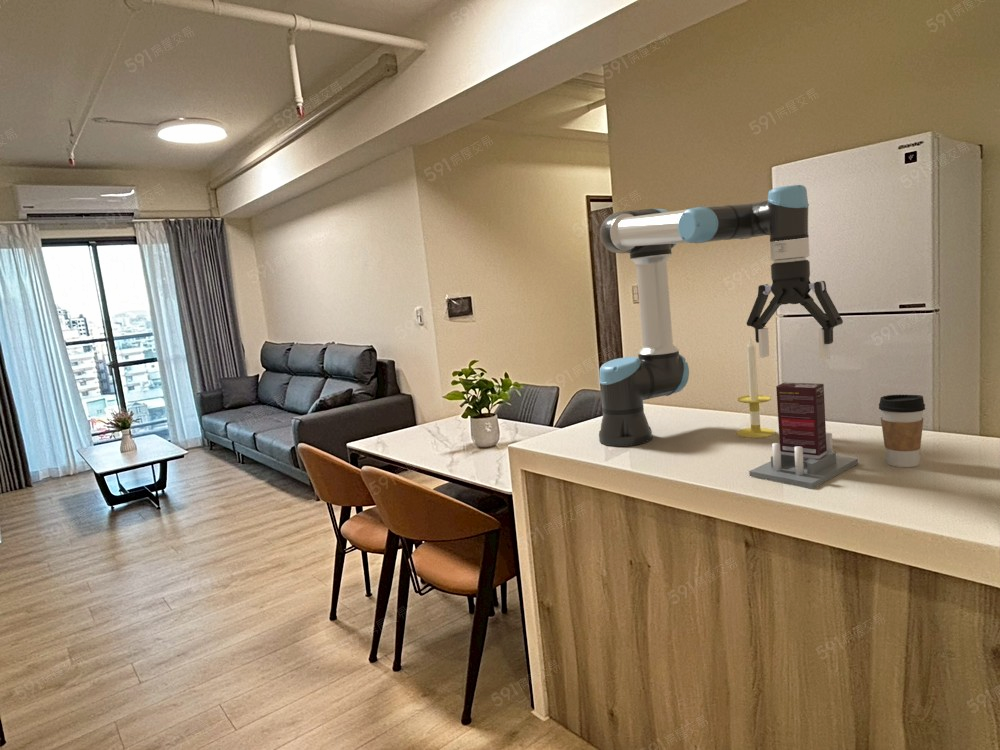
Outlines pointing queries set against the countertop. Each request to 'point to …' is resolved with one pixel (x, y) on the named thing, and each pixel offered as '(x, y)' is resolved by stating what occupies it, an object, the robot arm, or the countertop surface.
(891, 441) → the coffee cup
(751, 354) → the candle
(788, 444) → the supplement box
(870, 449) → the countertop surface
